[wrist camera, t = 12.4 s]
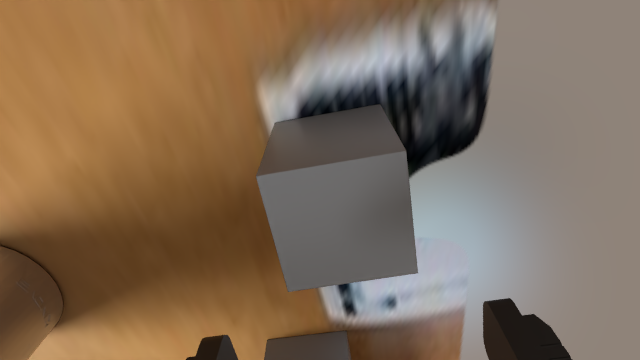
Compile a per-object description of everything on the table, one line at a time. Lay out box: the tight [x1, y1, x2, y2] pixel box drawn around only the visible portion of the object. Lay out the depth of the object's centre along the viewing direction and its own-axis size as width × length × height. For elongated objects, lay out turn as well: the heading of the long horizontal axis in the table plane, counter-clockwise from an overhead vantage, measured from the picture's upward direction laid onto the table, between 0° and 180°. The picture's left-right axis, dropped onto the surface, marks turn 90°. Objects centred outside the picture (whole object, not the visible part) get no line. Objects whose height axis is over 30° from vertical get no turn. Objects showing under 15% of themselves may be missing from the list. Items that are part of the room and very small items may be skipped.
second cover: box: [256, 104, 418, 292], centre depth 22 cm, size 7×7×8 cm
